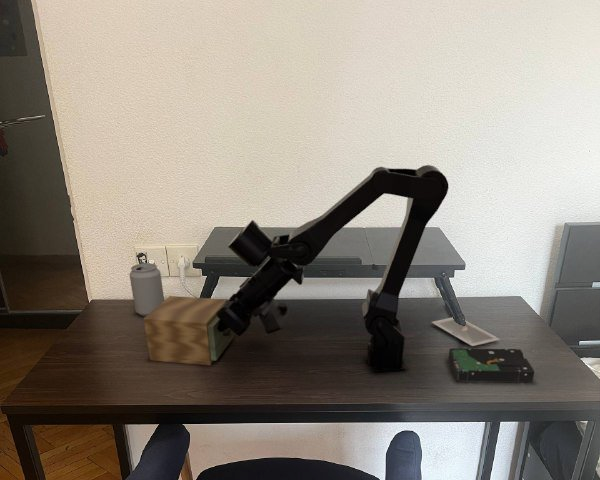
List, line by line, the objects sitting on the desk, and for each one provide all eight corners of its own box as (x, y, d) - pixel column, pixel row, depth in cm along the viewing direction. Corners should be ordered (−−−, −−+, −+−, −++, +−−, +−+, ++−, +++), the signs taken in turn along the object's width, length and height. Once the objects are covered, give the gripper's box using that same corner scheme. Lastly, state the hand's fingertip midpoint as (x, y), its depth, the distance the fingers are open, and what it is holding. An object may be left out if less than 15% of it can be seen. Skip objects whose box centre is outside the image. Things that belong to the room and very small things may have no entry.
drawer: (239, 337, 132) (236, 305, 128) (221, 361, 121) (218, 327, 117) (182, 333, 134) (178, 301, 130) (160, 356, 124) (155, 322, 120)
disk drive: (517, 360, 122) (447, 359, 123) (520, 348, 121) (448, 347, 121) (532, 384, 113) (456, 382, 114) (536, 371, 112) (458, 369, 112)
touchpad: (456, 320, 141) (457, 312, 140) (499, 343, 129) (501, 334, 128) (430, 326, 138) (431, 317, 137) (471, 350, 126) (473, 341, 125)
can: (142, 306, 152) (135, 261, 146) (169, 307, 151) (163, 262, 145) (131, 316, 145) (123, 270, 139) (159, 318, 144) (153, 271, 138)
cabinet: (230, 339, 133) (226, 299, 128) (210, 365, 122) (206, 323, 117) (174, 334, 136) (169, 295, 131) (150, 360, 124) (143, 318, 119)
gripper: (286, 329, 107) (234, 377, 115) (306, 294, 123) (258, 338, 130) (242, 286, 105) (192, 338, 112) (268, 256, 120) (222, 303, 128)
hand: (219, 330), depth 121 cm, fingers closed, pressing on drawer
